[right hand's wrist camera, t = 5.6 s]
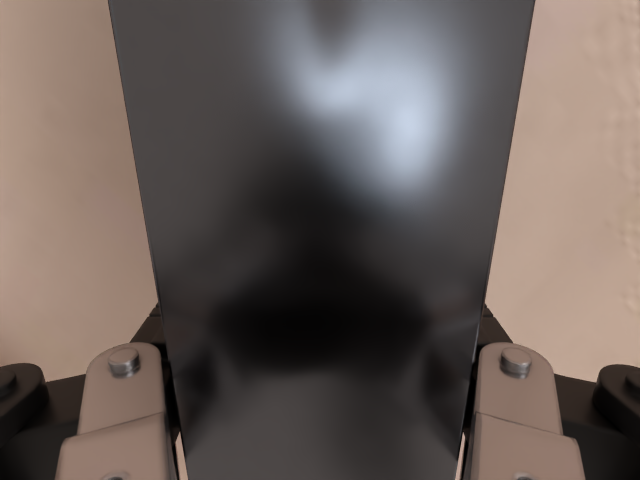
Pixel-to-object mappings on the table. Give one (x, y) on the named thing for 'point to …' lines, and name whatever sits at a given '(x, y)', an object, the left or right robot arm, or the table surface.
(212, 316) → the bar
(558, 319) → the table surface
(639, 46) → the table surface
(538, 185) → the table surface
